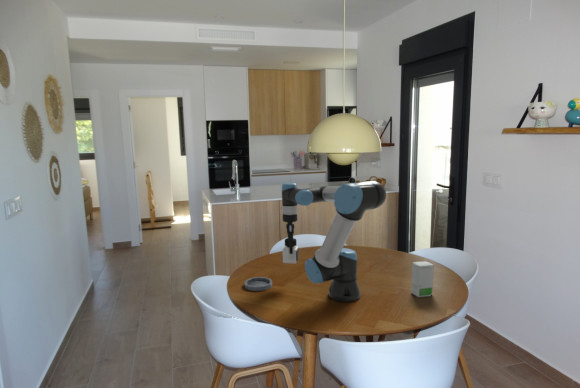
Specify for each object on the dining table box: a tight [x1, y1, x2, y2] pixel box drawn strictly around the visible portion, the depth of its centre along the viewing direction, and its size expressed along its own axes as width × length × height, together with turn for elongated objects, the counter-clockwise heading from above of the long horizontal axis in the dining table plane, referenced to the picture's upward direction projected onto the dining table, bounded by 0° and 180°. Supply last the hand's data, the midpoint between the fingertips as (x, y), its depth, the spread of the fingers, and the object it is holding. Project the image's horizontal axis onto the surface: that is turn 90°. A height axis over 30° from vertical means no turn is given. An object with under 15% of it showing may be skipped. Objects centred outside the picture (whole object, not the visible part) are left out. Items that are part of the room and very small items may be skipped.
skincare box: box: [410, 261, 435, 298], centre depth 194 cm, size 8×7×16 cm
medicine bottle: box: [282, 237, 300, 264], centre depth 207 cm, size 7×7×12 cm
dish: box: [244, 276, 273, 292], centre depth 209 cm, size 14×14×2 cm
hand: (290, 256), depth 207 cm, fingers closed on medicine bottle, 8 cm apart
